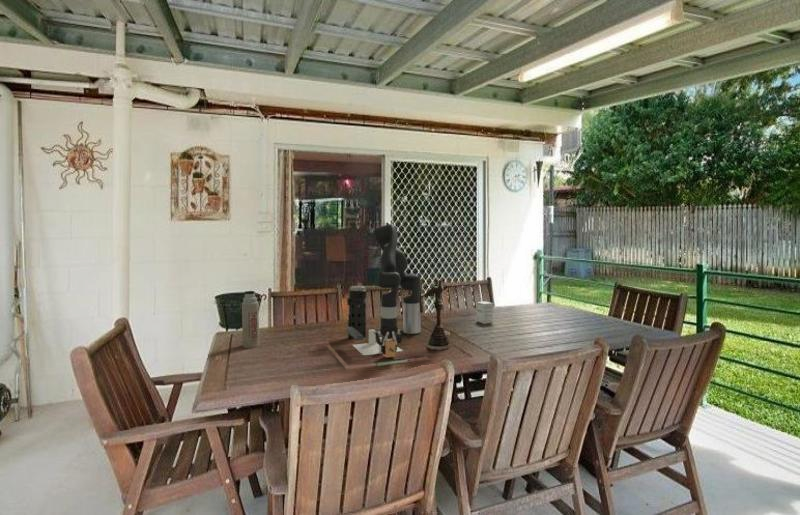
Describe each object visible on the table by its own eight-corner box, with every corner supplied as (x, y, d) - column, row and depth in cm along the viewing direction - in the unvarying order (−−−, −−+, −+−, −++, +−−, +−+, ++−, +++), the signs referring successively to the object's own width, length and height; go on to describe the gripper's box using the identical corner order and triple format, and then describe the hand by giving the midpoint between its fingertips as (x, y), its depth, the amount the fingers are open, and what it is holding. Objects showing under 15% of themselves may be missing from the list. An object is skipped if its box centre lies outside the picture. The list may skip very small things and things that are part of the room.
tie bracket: (389, 343, 238) (389, 327, 238) (403, 353, 221) (403, 336, 220) (352, 347, 231) (352, 331, 230) (363, 358, 213) (363, 340, 213)
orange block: (391, 353, 213) (391, 338, 212) (397, 358, 206) (397, 342, 205) (382, 354, 211) (382, 339, 211) (388, 359, 204) (388, 343, 204)
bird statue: (414, 344, 238) (414, 276, 235) (434, 340, 245) (434, 275, 243) (433, 351, 225) (434, 280, 222) (454, 347, 232) (455, 278, 229)
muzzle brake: (349, 340, 245) (368, 339, 248) (348, 288, 243) (368, 287, 246) (346, 336, 254) (364, 334, 257) (345, 285, 252) (364, 285, 255)
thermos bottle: (260, 346, 233) (259, 291, 231) (244, 348, 229) (242, 293, 227) (257, 342, 240) (256, 289, 238) (241, 344, 236) (240, 290, 234)
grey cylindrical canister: (476, 321, 290) (476, 301, 289) (486, 320, 294) (486, 301, 292) (483, 324, 284) (483, 303, 283) (493, 322, 287) (493, 302, 286)
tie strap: (352, 330, 230) (352, 326, 230) (363, 339, 213) (363, 335, 213) (346, 331, 229) (346, 327, 229) (356, 340, 212) (356, 336, 211)
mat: (399, 356, 217) (399, 354, 217) (407, 362, 208) (407, 360, 208) (371, 359, 212) (371, 357, 212) (378, 365, 203) (378, 363, 203)
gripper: (400, 313, 215) (400, 349, 216) (371, 315, 209) (371, 352, 211) (406, 316, 208) (406, 353, 209) (376, 318, 202) (376, 356, 204)
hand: (388, 352), depth 210 cm, fingers closed on orange block, 4 cm apart
